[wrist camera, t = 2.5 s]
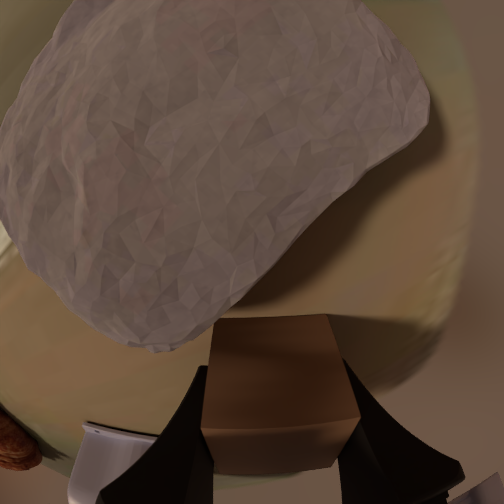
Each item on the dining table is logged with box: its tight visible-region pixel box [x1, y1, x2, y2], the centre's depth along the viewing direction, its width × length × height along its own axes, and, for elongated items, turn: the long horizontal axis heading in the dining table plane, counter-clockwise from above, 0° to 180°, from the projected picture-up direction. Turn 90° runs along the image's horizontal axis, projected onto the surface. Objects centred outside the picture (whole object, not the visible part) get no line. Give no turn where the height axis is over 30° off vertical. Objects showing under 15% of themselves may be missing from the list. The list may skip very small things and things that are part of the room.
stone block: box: [0, 0, 430, 353], centre depth 7 cm, size 12×5×10 cm
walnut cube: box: [201, 314, 361, 475], centre depth 10 cm, size 4×4×5 cm
